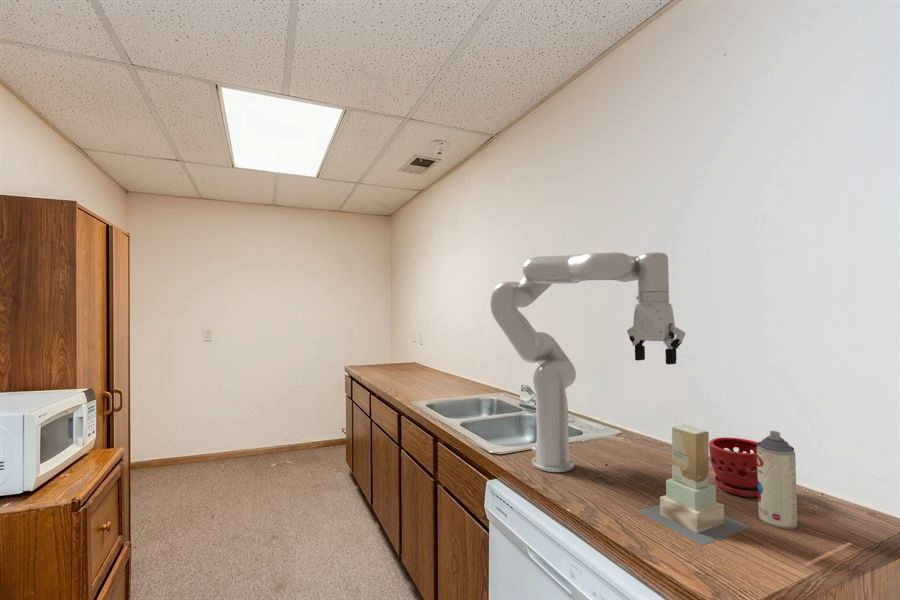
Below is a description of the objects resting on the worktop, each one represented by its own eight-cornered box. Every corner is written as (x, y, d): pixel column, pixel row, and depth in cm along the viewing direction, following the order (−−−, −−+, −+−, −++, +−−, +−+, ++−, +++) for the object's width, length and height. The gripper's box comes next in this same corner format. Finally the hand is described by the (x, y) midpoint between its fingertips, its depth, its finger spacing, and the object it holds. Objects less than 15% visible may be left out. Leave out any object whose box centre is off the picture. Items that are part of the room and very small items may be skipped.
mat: (636, 512, 99) (636, 511, 99) (682, 499, 106) (682, 497, 106) (702, 547, 85) (702, 545, 85) (751, 528, 91) (750, 527, 91)
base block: (660, 514, 97) (659, 496, 98) (686, 506, 101) (685, 489, 101) (697, 532, 89) (696, 513, 89) (724, 523, 93) (723, 505, 93)
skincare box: (671, 479, 97) (669, 426, 98) (683, 476, 99) (682, 423, 100) (697, 490, 92) (696, 433, 92) (710, 486, 93) (709, 430, 94)
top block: (666, 497, 97) (665, 480, 97) (686, 491, 100) (686, 474, 100) (695, 510, 91) (694, 491, 91) (716, 504, 94) (715, 485, 94)
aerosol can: (760, 512, 99) (757, 426, 99) (798, 521, 94) (795, 431, 95) (757, 523, 94) (754, 432, 94) (797, 534, 89) (794, 438, 89)
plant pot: (707, 477, 120) (706, 434, 120) (764, 485, 114) (763, 440, 114) (713, 495, 108) (711, 448, 108) (777, 505, 102) (775, 455, 102)
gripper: (618, 299, 121) (619, 359, 121) (672, 297, 105) (674, 366, 105) (637, 299, 124) (638, 358, 124) (692, 297, 108) (694, 364, 108)
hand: (654, 362), depth 114 cm, fingers open, 9 cm apart
